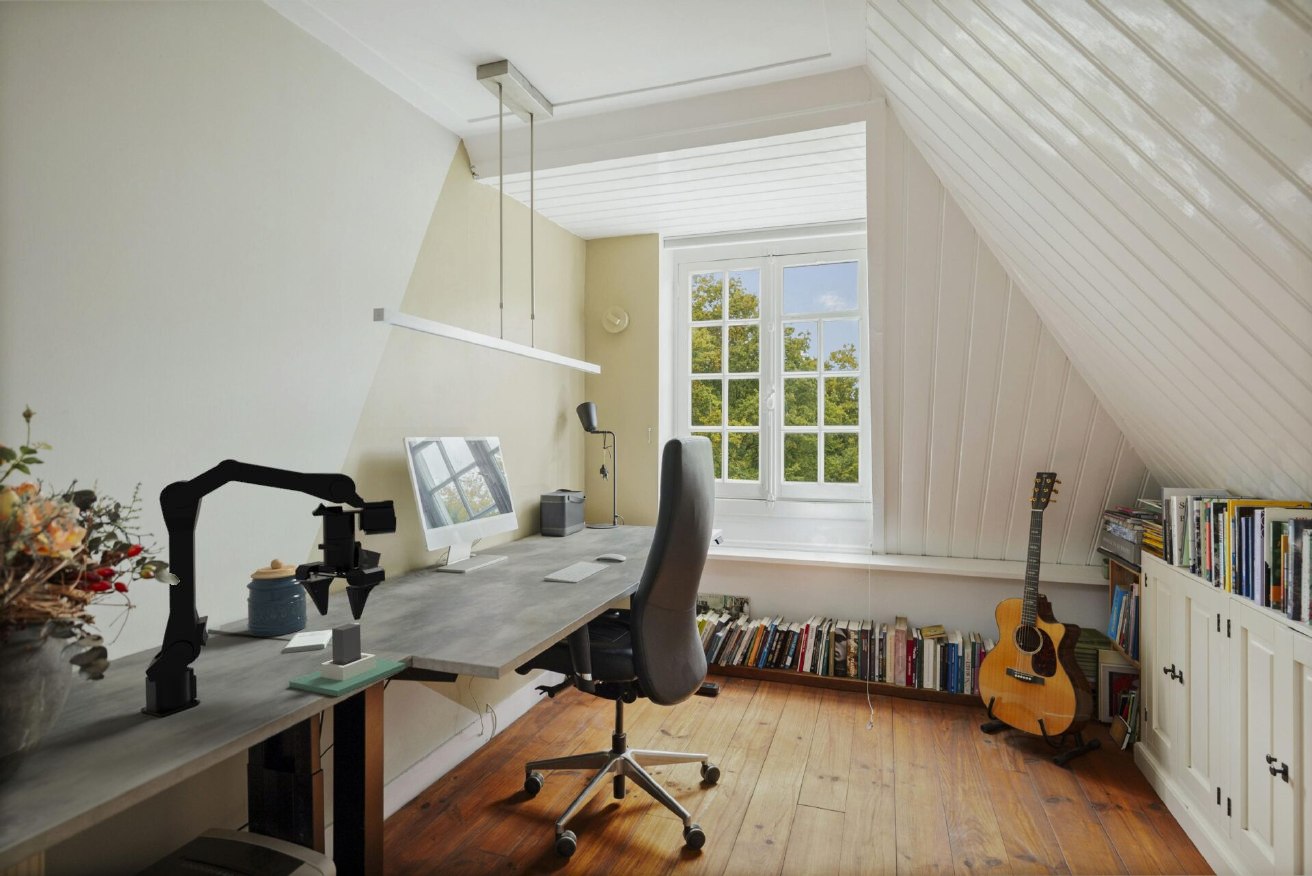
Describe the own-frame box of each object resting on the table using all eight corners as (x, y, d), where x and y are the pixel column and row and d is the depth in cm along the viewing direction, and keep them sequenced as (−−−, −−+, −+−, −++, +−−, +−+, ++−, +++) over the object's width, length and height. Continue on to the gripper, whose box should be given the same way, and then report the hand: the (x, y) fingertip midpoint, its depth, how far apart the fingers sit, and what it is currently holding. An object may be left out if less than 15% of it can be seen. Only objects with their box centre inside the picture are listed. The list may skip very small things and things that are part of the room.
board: (337, 696, 122) (337, 677, 122) (289, 686, 128) (289, 668, 128) (405, 668, 137) (404, 651, 137) (359, 660, 142) (358, 644, 142)
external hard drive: (283, 655, 149) (295, 639, 161) (324, 650, 151) (333, 635, 163) (283, 647, 149) (295, 632, 161) (324, 643, 151) (333, 628, 163)
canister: (306, 632, 165) (305, 560, 165) (245, 640, 159) (243, 565, 159) (308, 620, 177) (306, 552, 177) (250, 627, 171) (248, 557, 171)
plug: (344, 677, 129) (343, 630, 129) (333, 675, 130) (332, 628, 130) (364, 669, 134) (363, 623, 134) (353, 667, 135) (352, 622, 135)
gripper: (406, 534, 135) (407, 612, 135) (340, 530, 143) (341, 603, 143) (360, 542, 125) (361, 626, 125) (292, 537, 133) (294, 616, 133)
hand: (340, 617), depth 132 cm, fingers open, 9 cm apart
